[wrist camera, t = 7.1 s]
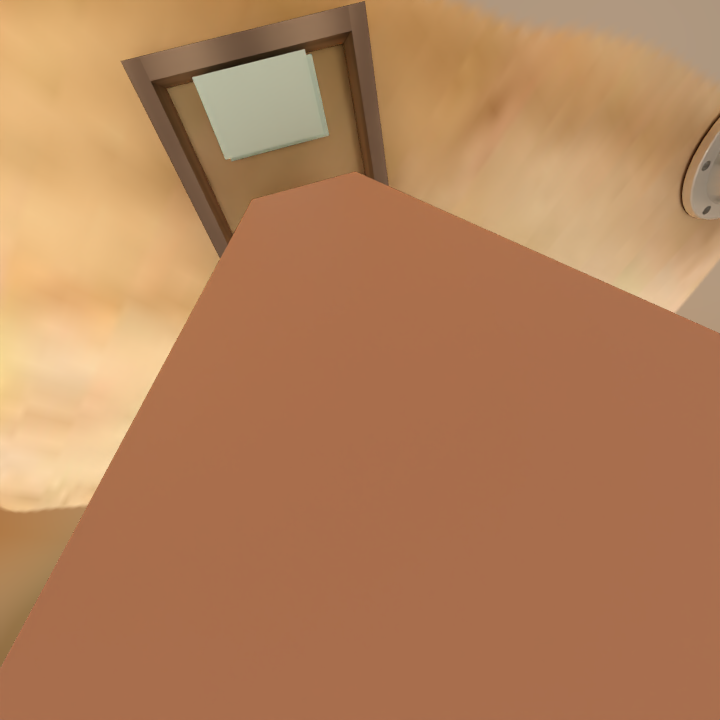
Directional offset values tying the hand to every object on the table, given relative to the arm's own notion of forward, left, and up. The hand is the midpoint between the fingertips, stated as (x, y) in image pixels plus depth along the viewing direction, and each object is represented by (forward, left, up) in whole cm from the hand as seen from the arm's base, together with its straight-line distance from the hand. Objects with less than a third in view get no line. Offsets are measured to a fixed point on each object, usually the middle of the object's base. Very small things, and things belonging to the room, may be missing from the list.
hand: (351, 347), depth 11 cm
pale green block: (0, -8, -19) cm, 21 cm away
